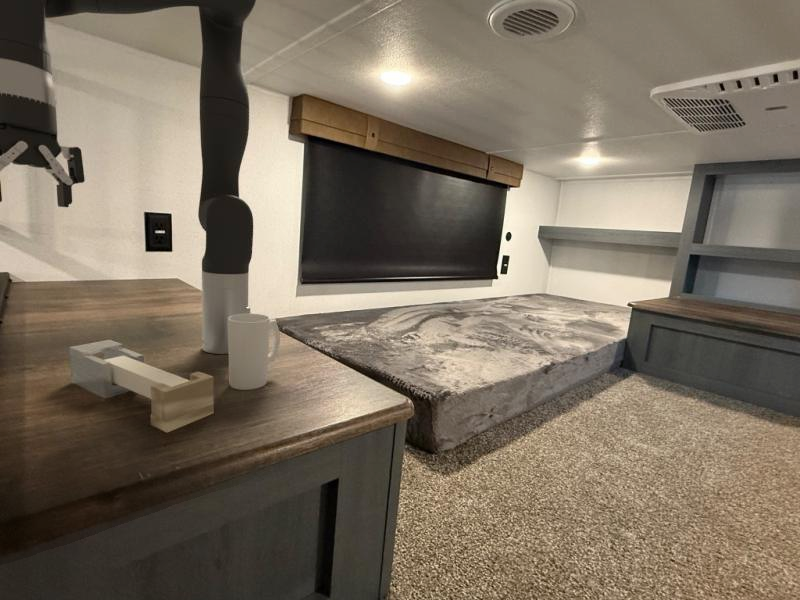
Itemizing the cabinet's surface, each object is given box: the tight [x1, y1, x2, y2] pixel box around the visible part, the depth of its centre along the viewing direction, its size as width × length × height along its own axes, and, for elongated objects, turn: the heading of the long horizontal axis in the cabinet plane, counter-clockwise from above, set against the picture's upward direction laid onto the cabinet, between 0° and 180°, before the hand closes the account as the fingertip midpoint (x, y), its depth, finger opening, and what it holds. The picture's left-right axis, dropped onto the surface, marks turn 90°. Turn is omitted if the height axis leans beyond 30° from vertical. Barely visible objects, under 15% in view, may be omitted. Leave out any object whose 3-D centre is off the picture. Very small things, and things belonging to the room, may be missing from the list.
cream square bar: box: [105, 356, 190, 400], centre depth 58 cm, size 18×3×3 cm, turn 62°
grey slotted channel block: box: [68, 339, 145, 400], centre depth 63 cm, size 10×6×6 cm, turn 62°
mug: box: [228, 313, 281, 391], centre depth 69 cm, size 10×7×12 cm, turn 146°
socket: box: [150, 371, 215, 433], centre depth 55 cm, size 4×7×6 cm, turn 152°
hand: (31, 204), depth 64 cm, fingers open, 8 cm apart
